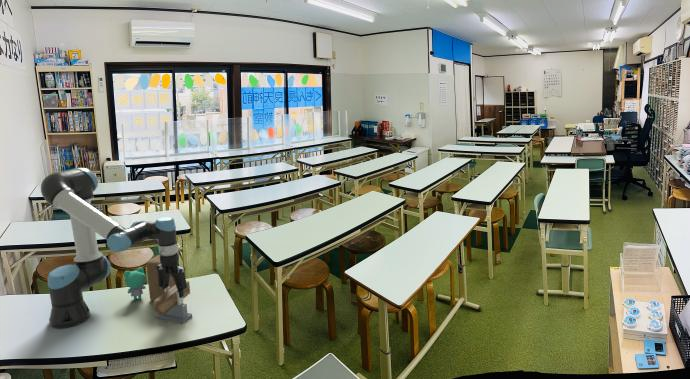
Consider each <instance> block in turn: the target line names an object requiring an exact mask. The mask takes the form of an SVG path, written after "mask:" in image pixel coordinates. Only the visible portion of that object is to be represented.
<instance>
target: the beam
mask: <svg viewBox="0 0 690 379" xmlns="http://www.w3.org/2000/svg"><path fill="white" fill-rule="evenodd" d="M186 284H187V288H186V289H184V290H183V293H184V296H183V300H184V299H185V298H187V297H188V296H189V295H190V294H191V287H190V281H189V280H186ZM176 291H177V287H176V285H175V286H173V287H172V288H170V289H169V290H168V291H166V292H165V293H164V294H162V295H161V296H160V297H158V298H157V299H156V300H153V305H154V314H155V315H158V314H160V315H164V314H165V313H167V312H168V311H169V310H170V309H172V308H173V307H174V306H175V305H176V304H178V302H177V293H176Z"/></svg>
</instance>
